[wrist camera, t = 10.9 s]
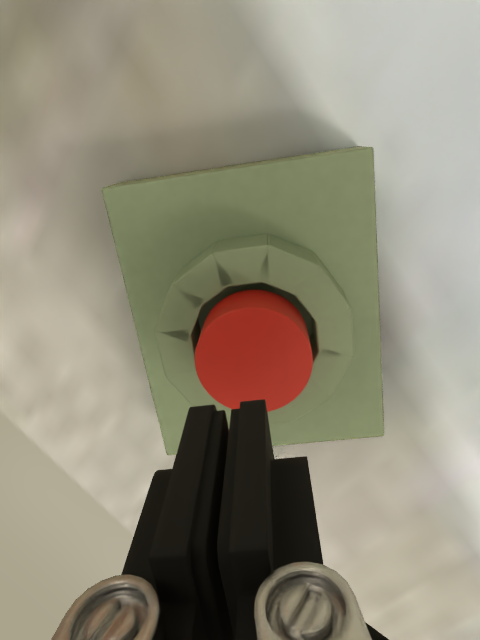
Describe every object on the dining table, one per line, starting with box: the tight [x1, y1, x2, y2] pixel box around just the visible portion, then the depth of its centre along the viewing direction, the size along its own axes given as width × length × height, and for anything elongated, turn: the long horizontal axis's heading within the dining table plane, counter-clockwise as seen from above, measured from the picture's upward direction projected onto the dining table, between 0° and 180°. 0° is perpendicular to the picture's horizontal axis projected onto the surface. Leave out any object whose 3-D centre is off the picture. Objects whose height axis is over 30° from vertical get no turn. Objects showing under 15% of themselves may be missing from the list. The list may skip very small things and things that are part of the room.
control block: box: [102, 146, 384, 455], centre depth 17 cm, size 11×9×4 cm
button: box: [195, 289, 313, 412], centre depth 15 cm, size 4×4×2 cm
